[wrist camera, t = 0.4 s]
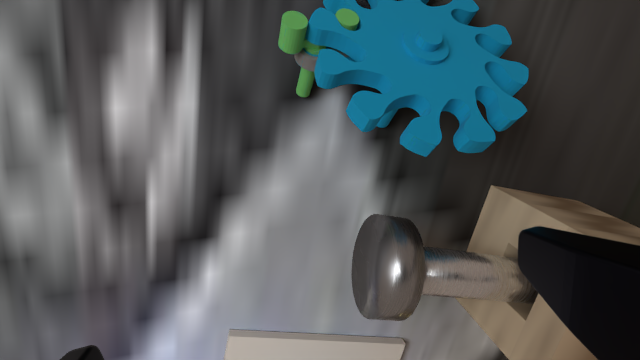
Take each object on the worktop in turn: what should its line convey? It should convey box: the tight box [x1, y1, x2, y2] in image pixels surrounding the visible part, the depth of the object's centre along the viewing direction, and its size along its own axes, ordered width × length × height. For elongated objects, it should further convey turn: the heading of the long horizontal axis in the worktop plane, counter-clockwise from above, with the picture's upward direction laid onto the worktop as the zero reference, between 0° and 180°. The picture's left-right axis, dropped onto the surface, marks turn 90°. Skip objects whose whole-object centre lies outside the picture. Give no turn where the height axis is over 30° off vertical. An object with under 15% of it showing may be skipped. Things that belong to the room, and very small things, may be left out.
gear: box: [278, 0, 529, 157], centre depth 18 cm, size 11×6×10 cm
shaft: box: [352, 214, 538, 321], centre depth 20 cm, size 12×5×5 cm, turn 77°
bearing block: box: [455, 185, 640, 360], centre depth 22 cm, size 7×8×8 cm
